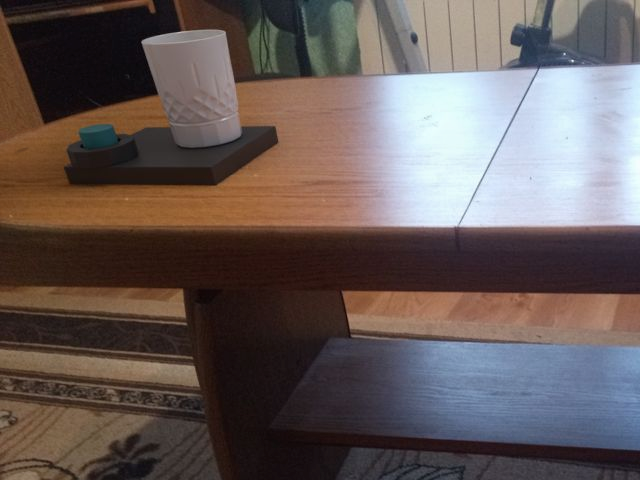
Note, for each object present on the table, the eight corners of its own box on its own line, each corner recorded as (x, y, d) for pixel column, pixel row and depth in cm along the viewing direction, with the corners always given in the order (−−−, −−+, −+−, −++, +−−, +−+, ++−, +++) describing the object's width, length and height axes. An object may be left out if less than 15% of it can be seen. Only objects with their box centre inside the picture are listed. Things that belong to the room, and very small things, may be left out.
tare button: (76, 150, 71) (70, 132, 70) (97, 141, 74) (91, 123, 73) (105, 150, 70) (99, 132, 69) (125, 141, 73) (120, 123, 72)
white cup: (176, 134, 79) (149, 34, 74) (250, 125, 80) (229, 26, 75) (164, 154, 73) (133, 46, 67) (245, 144, 74) (221, 38, 68)
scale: (65, 187, 72) (52, 152, 70) (150, 144, 84) (141, 112, 82) (213, 188, 68) (203, 151, 67) (279, 143, 80) (272, 110, 79)
